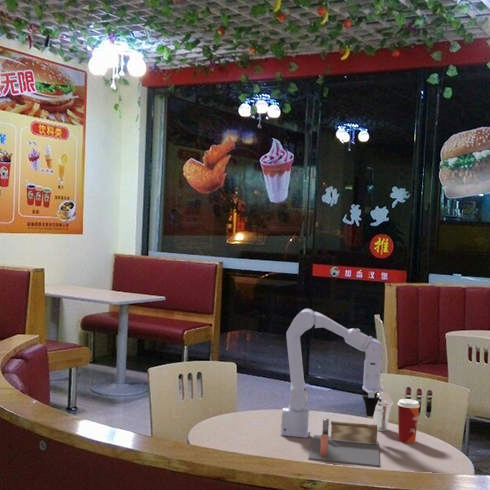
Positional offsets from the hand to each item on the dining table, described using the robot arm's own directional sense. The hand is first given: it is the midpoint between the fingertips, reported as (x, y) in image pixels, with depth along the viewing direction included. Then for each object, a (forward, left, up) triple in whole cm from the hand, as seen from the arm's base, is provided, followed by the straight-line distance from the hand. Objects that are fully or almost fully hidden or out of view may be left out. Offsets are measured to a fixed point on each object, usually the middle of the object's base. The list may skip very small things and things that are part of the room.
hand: (369, 413), depth 232 cm
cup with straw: (+4, +15, -10) cm, 18 cm away
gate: (-5, -5, -9) cm, 11 cm away
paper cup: (+13, +4, -10) cm, 17 cm away
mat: (-8, -13, -10) cm, 18 cm away
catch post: (-14, -22, -10) cm, 27 cm away
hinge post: (-15, -5, -10) cm, 18 cm away
